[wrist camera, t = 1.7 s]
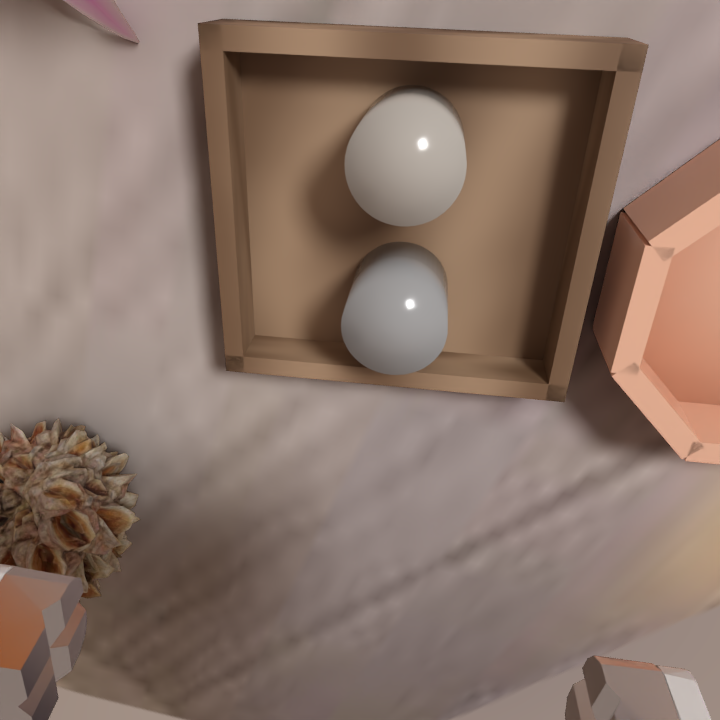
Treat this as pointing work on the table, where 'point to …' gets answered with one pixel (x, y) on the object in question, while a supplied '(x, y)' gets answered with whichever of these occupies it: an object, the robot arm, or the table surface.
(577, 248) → the tray
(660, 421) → the bowl
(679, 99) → the table surface
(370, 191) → the pebble
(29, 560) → the pine cone
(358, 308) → the grey rounded cylinder
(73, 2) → the lily
